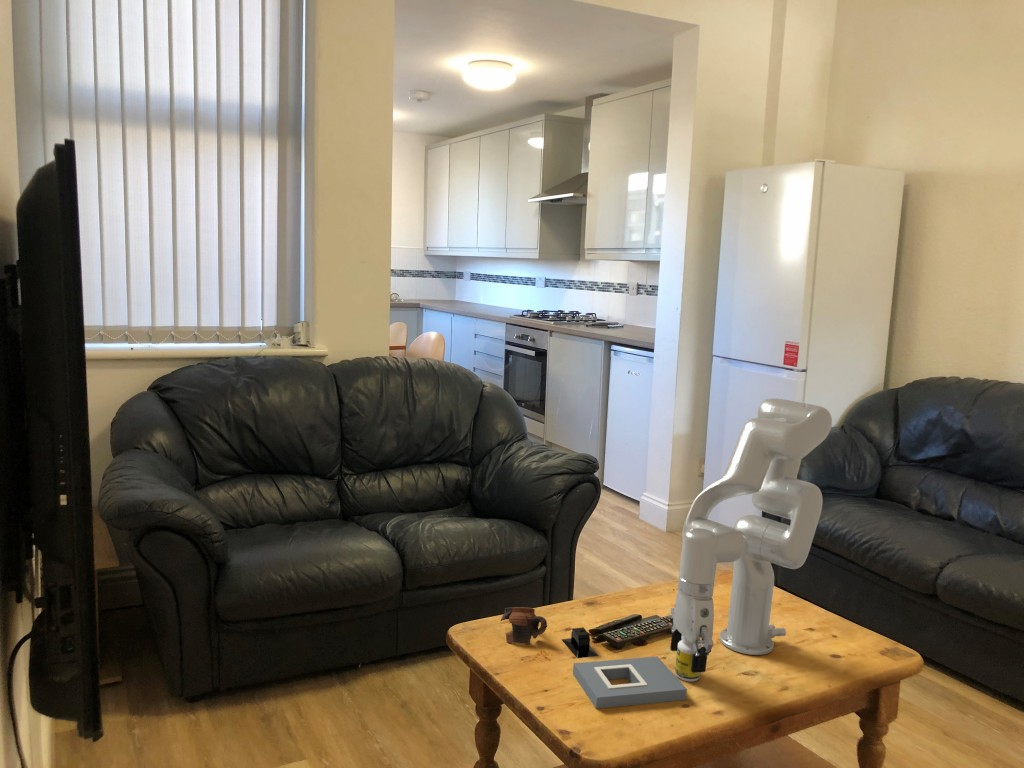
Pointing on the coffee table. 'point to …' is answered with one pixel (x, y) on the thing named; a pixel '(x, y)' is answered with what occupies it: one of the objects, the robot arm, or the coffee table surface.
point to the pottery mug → (523, 624)
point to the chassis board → (643, 673)
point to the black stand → (580, 643)
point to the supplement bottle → (685, 660)
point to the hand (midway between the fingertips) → (687, 660)
